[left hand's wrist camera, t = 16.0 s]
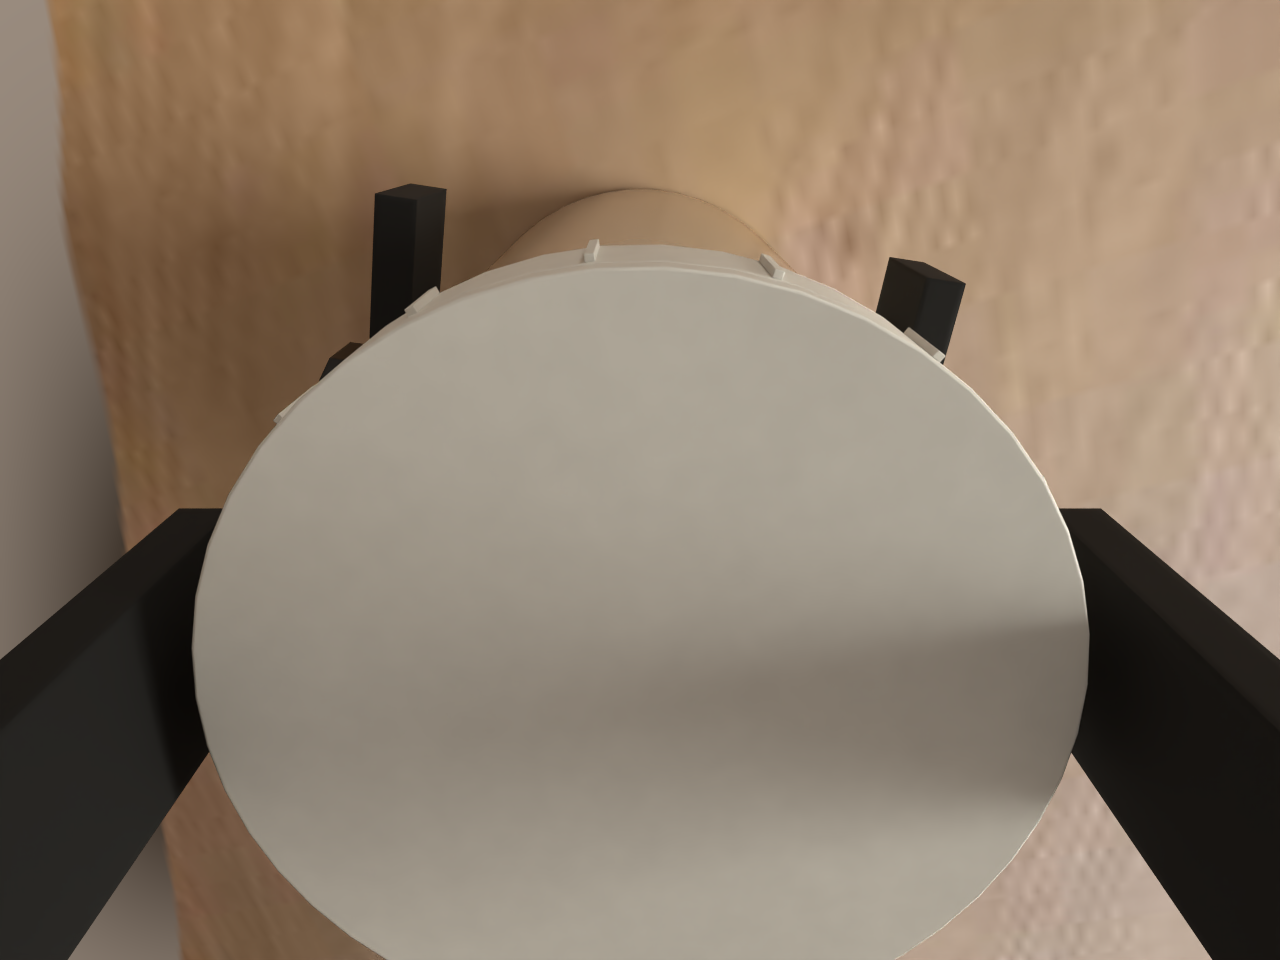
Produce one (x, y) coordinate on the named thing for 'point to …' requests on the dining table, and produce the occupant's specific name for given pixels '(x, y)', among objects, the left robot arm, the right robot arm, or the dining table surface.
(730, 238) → the jar
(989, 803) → the lid
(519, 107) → the dining table surface
